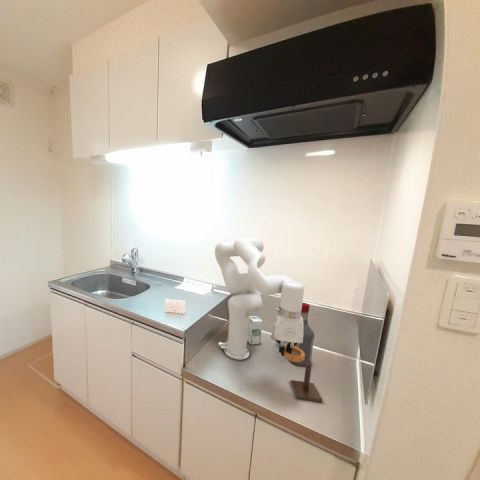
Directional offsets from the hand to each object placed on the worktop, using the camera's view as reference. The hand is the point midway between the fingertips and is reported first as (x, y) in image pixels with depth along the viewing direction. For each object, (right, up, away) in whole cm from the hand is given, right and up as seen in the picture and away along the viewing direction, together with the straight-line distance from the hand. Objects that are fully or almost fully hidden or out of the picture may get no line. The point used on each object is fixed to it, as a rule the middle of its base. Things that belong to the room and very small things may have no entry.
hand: (284, 354), depth 102 cm
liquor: (+19, -15, +25) cm, 35 cm away
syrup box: (+2, -12, +41) cm, 42 cm away
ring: (+3, 0, -1) cm, 3 cm away
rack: (+11, -18, +5) cm, 22 cm away
